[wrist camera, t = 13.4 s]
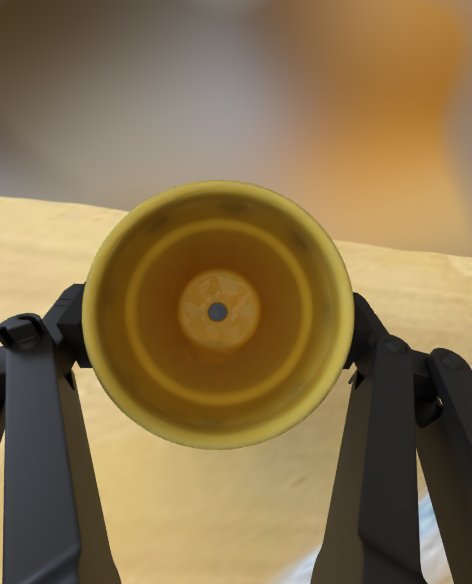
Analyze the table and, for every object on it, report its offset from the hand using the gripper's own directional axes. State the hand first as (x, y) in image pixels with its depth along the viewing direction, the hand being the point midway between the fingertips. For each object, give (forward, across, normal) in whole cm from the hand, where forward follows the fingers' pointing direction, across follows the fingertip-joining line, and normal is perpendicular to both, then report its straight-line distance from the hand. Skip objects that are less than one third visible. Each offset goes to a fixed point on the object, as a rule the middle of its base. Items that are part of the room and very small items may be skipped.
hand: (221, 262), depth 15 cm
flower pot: (+1, 0, -5) cm, 5 cm away
